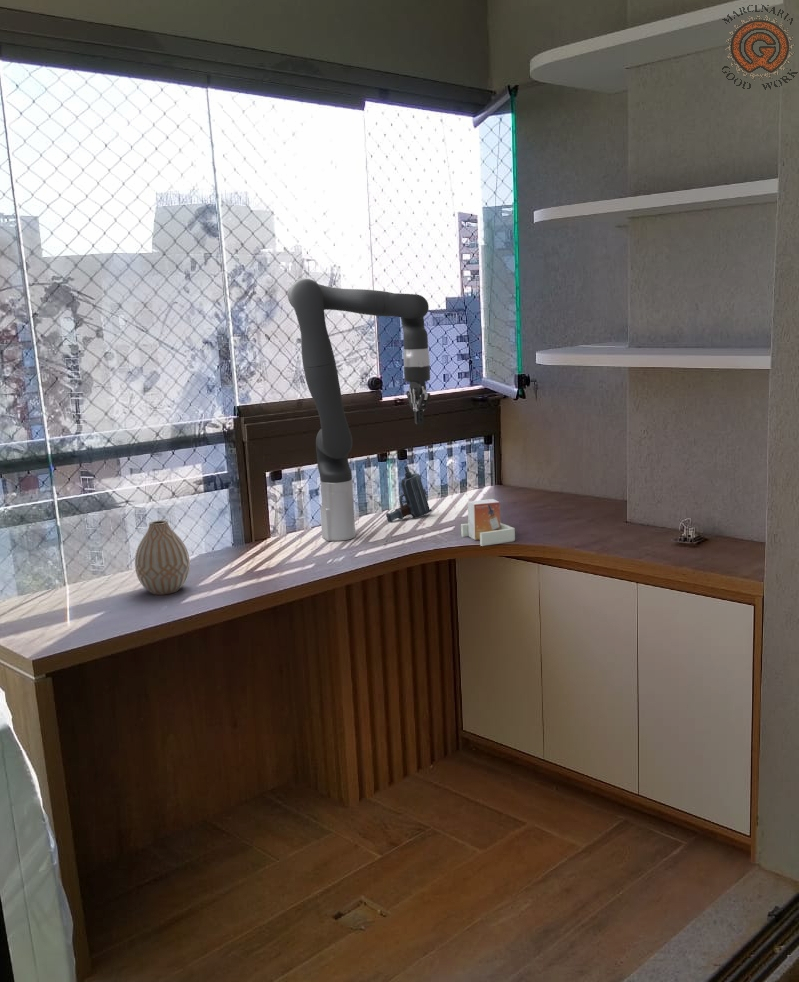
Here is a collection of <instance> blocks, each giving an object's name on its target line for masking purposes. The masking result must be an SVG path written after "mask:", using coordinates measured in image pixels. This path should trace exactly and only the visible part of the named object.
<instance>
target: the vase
mask: <svg viewBox="0 0 799 982" xmlns="http://www.w3.org/2000/svg"><path fill="white" fill-rule="evenodd" d="M134 569H135V574H136V577H137V580H138V581H139V583H140V585H142V587H143V588H144V589H145V590H147V591H148V592H149V593H151V594H153V595H157V596H158V595H159V596H160V595H161V596H162V595H169V594H174V593H176V592H178V591H179V590H180V589H181V588H182V587H183V586H184V585H185V583H186V582H187V579H188V577H189V574H190V569H191V560H190V556H189V550H188V548H187V546H186V544H185V543H184V541H183V540H182V538H180V536H179V535H178V534H177V533H176V532H175V531H174V530H173V529H172V528H171V526H170V525H169V522H168V520H166V519H165V520H164V519H161V520H153V521H150V522H149V523H148V528H147V531H146V533H145V534H144V536H143V537H142V539H141V540H140V542H139V543H138V546H137V549H136V552H135V556H134Z"/></svg>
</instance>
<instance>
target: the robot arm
mask: <svg viewBox="0 0 799 982" xmlns="http://www.w3.org/2000/svg"><path fill="white" fill-rule="evenodd" d="M287 299H288V302H289V304H290V306H291V307H292V308H293V310H294V312H295V315H296V319H297V322H298V327H299V331H300V341H301V342H300V343H301V358H302V359H301V360H302V368H303V372H304V378H305V382H306V385H307V388H308V392H309V393H310V396H311V398H312V400H313V403H314V405H315V407H316V410H317V412H318V415H319V422H320V427H321V428H320V429H319V430H318V432H317V435H316V438H315V451H316V461H317V469H318V473H319V477H320V494H321V505H320V506H319V507H320V509H319V510H320V511H319V512H320V523H321V524H320V525H321V536H322V537H321V538H323V539H325V541H327V542H332V541H334V542H337V541H339V542H341V541H348V540H350V539H354V538H356V525H355V522H356V520H355V509H354V508H355V507H354V506H355V505H354V490H353V472H352V469H351V467H350V464H349V459H348V458H349V457H348V455H349V453H350V452H351V451H352V448H353V436H352V433H351V430H350V428H349V427H350V426H349V424H348V421H347V418H346V415H345V414H346V413H345V410H344V405H343V399H342V393H341V392H342V391H341V386H340V381H339V374H338V369H337V362H336V358H335V355H334V354H335V353H334V351H333V347H332V343H331V339H330V337H329V333H328V328H327V324H326V317H325V311H327V310H328V311H329V310H330V311H341V312H348V313H354V314H360V315H367V316H376V317H396V318H400V320H401V321H400V322H401V325H402V327H401V328H402V332H403V337H402V338H403V339H402V340H403V372H404V373H403V376H404V377H403V378H404V381H405V382H406V383H409V385H408V386H409V390H407V391H406V392H405V394H406V397H407V400H408V403H409V407H410V409H412V410H413V413H414V424H415V425H423V424H424V422H425V421H424V419H425V418H424V411H425V410H427V409H428V406H429V405H428V404H429V403H430V399H431V393H430V392H427V391H428V390H427V385H426V382H428V381H430V380H431V368H430V367H431V366H430V365H431V364H430V354H429V340H428V339H429V338H428V337H429V336H428V332H427V329H426V328H425V320H424V319H425V316H426V315H427V314H428V311H429V306H430V305H429V302H428V300H427V298H425V297H424V296H423V295H420V294H415V293H400V292H399V293H396V292H395V293H394V292H389V291H384V290H373V289H363V288H362V289H361V288H341V287H340V288H339V287H332V286H327V285H322V284H320V283H317V281H315V280H313V279H312V278H311V279H310V278H301V279H298V280H296V281H294V282H293V283H292V284H291V285H290V287H289V288H288V292H287Z"/></svg>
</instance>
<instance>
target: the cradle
mask: <svg viewBox="0 0 799 982" xmlns="http://www.w3.org/2000/svg"><path fill="white" fill-rule="evenodd" d="M460 529H461V530H460V534H461V535H460V536H461V537H462V538H464V537H469V535H468V522H467V523H461V524H460ZM515 531H516V529H515V527H512V526H511V525H508V524H505V523H502V522H500V530H495V531H488V532H482V533H480V539H479V546H480V547H481V546H482V547H484V546H491V545H498V544H504V543H511V542H514V541H515V540H516V533H515Z"/></svg>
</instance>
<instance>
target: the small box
mask: <svg viewBox="0 0 799 982" xmlns="http://www.w3.org/2000/svg"><path fill="white" fill-rule="evenodd" d="M500 504H501V503H500V501H498V500H496V499H494V498H489V499H481V500H468V501H467V523H468V535H469V536H468V537H469V538H471V539H472V540H474V541H477V540H479V541H480V533H482V532H488V531H495V530H500V523H501V505H500Z"/></svg>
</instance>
